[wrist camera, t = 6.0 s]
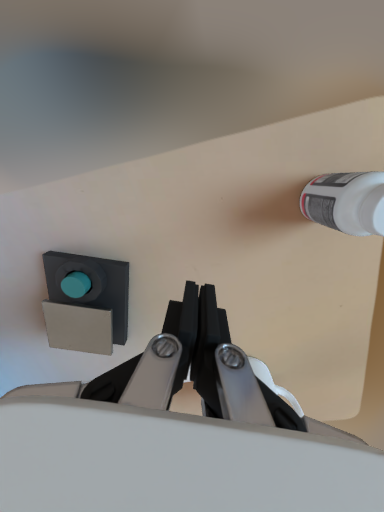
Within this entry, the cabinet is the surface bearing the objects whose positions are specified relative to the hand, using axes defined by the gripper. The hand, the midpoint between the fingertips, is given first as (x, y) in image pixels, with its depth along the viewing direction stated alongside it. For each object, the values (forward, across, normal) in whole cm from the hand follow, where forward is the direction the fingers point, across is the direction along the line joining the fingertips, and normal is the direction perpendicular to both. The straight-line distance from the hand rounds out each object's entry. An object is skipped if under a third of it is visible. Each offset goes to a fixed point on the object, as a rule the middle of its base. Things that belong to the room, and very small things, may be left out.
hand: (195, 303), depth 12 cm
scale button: (+12, +14, +8) cm, 20 cm away
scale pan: (+11, +14, +15) cm, 23 cm away
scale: (+14, +14, +13) cm, 24 cm away
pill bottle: (+15, -14, -7) cm, 21 cm away
